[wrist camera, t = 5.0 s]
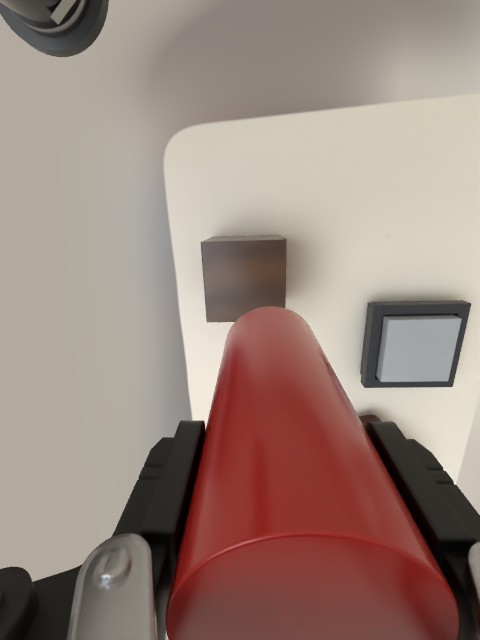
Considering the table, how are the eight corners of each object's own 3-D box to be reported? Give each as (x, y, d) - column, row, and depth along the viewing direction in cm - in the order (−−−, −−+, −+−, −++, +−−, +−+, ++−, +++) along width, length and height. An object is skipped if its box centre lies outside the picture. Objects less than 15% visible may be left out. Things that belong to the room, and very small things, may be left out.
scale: (364, 299, 37) (373, 305, 34) (454, 296, 36) (471, 303, 34) (356, 376, 40) (364, 387, 38) (438, 375, 40) (452, 387, 37)
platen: (383, 315, 35) (389, 320, 34) (452, 314, 35) (461, 318, 33) (375, 375, 38) (380, 382, 36) (440, 375, 37) (448, 381, 36)
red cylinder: (212, 321, 16) (115, 567, 5) (302, 293, 15) (443, 502, 4) (241, 397, 17) (221, 725, 6) (325, 375, 17) (476, 699, 5)
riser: (211, 237, 35) (200, 242, 28) (278, 235, 35) (286, 239, 27) (215, 301, 38) (206, 322, 30) (278, 300, 37) (285, 320, 30)
